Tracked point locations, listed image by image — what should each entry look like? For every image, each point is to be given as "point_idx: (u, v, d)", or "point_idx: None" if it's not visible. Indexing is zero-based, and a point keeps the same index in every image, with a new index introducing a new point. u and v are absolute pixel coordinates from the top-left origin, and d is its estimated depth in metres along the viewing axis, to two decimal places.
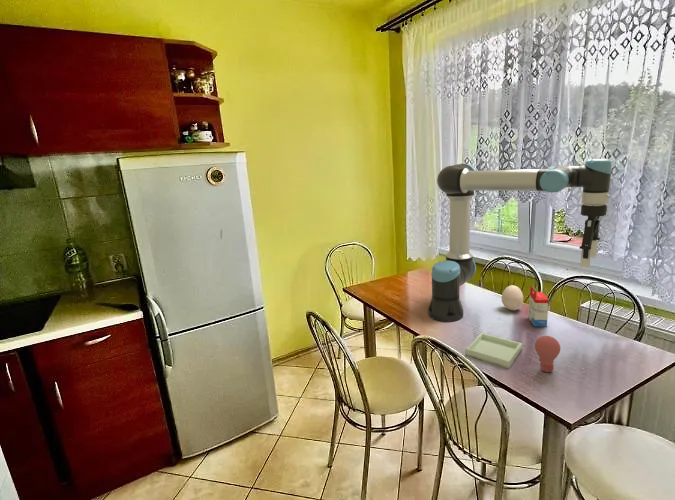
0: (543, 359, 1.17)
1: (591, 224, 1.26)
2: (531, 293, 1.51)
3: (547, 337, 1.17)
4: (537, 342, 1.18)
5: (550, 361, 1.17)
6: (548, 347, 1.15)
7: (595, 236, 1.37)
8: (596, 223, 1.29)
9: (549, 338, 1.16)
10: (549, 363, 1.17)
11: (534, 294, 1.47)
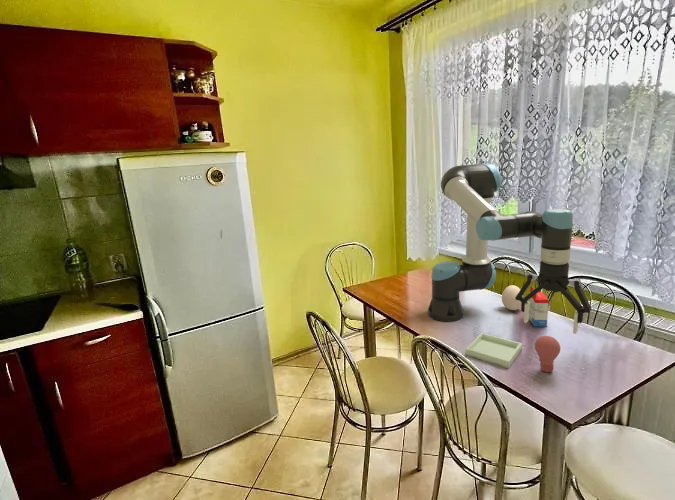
0: (543, 359, 1.17)
1: None
2: None
3: (547, 337, 1.17)
4: (537, 342, 1.18)
5: (550, 361, 1.17)
6: (548, 347, 1.15)
7: None
8: (544, 282, 1.12)
9: (549, 338, 1.16)
10: (549, 363, 1.17)
11: None
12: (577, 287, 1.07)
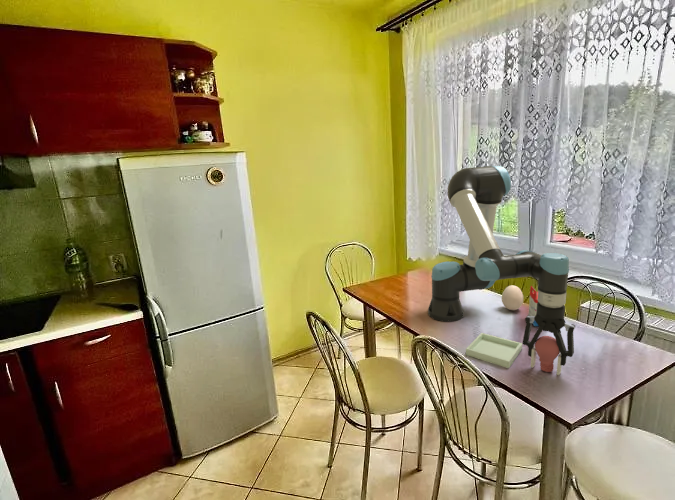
0: (543, 359, 1.17)
1: None
2: (531, 293, 1.51)
3: (547, 337, 1.17)
4: (537, 342, 1.18)
5: (550, 361, 1.17)
6: (548, 347, 1.15)
7: None
8: (540, 323, 1.16)
9: (549, 338, 1.16)
10: (549, 363, 1.17)
11: (534, 294, 1.47)
12: (570, 333, 1.11)
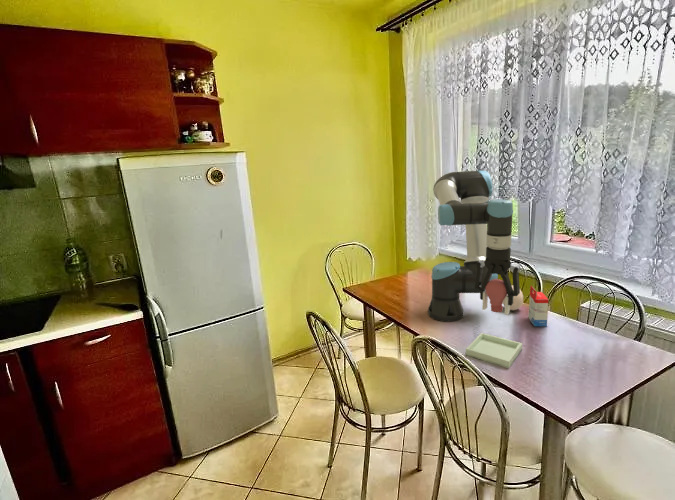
0: (493, 300, 1.26)
1: None
2: (531, 293, 1.51)
3: (496, 279, 1.25)
4: (487, 285, 1.26)
5: (499, 302, 1.25)
6: (496, 288, 1.23)
7: None
8: (489, 266, 1.24)
9: (498, 280, 1.25)
10: (498, 304, 1.25)
11: (534, 294, 1.47)
12: (515, 273, 1.20)
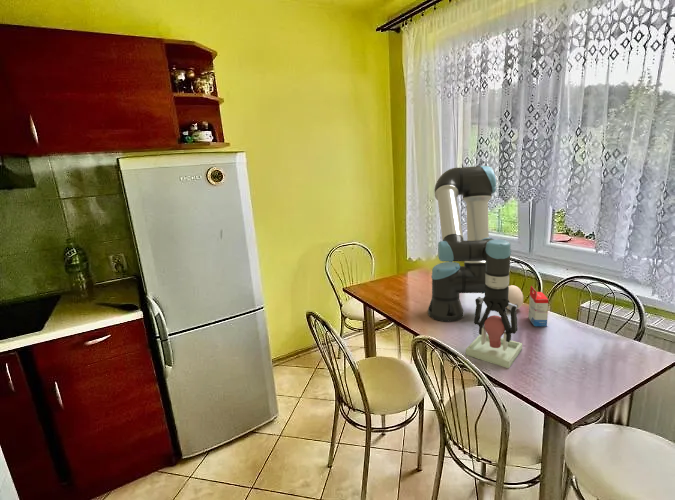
0: (491, 336, 1.29)
1: None
2: (531, 293, 1.51)
3: (494, 316, 1.29)
4: (486, 321, 1.30)
5: (497, 338, 1.29)
6: (494, 325, 1.26)
7: None
8: (488, 303, 1.28)
9: (496, 317, 1.28)
10: (496, 340, 1.29)
11: (534, 294, 1.47)
12: (513, 311, 1.23)
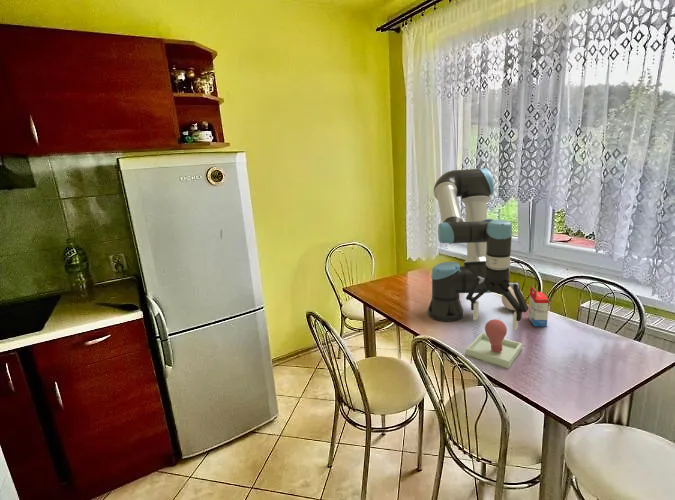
0: (492, 340, 1.29)
1: None
2: (531, 293, 1.51)
3: (495, 320, 1.29)
4: (486, 325, 1.30)
5: (498, 342, 1.29)
6: (495, 329, 1.27)
7: None
8: (488, 284, 1.26)
9: (496, 321, 1.28)
10: (497, 344, 1.29)
11: (534, 294, 1.47)
12: (515, 290, 1.21)
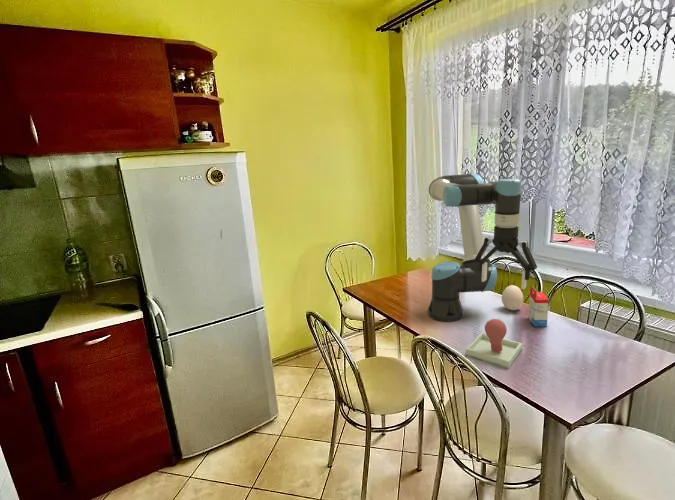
0: (492, 340, 1.29)
1: None
2: (531, 293, 1.51)
3: (494, 320, 1.29)
4: (486, 325, 1.30)
5: (498, 341, 1.29)
6: (494, 328, 1.27)
7: None
8: (497, 244, 1.27)
9: (496, 320, 1.29)
10: (497, 343, 1.29)
11: (534, 294, 1.47)
12: (524, 248, 1.22)
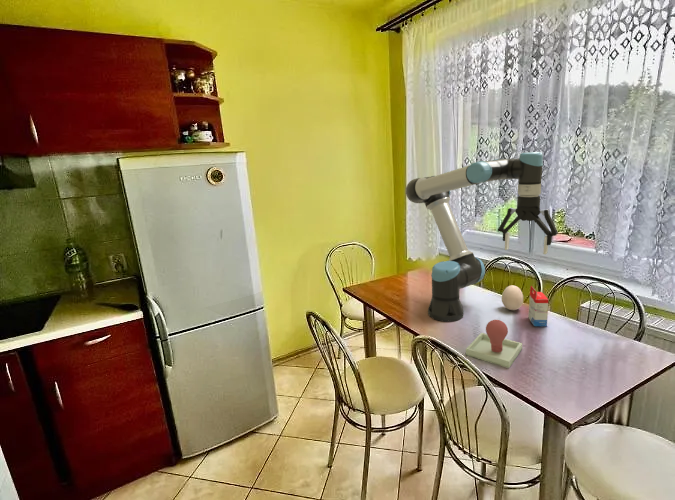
0: (493, 341, 1.29)
1: None
2: (531, 293, 1.51)
3: (496, 321, 1.28)
4: (487, 325, 1.29)
5: (499, 342, 1.28)
6: (496, 330, 1.26)
7: None
8: (520, 213, 1.38)
9: (497, 321, 1.28)
10: (498, 344, 1.29)
11: (534, 294, 1.47)
12: (546, 215, 1.32)
